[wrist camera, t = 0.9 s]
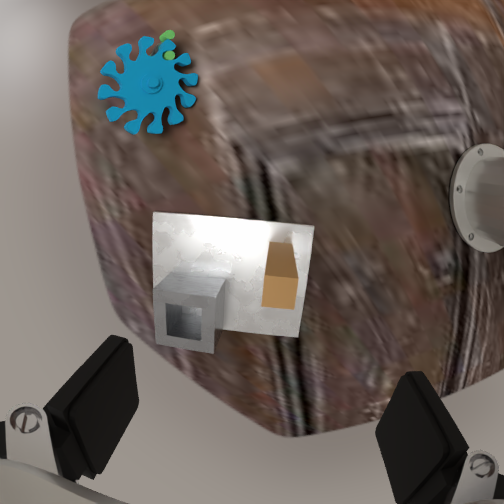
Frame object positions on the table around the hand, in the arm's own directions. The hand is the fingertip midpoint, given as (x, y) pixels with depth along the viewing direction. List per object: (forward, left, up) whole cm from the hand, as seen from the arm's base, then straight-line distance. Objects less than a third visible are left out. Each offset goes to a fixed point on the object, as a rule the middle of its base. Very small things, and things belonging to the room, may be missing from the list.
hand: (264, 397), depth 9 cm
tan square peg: (0, 0, -21) cm, 21 cm away
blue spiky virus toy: (+13, -16, -22) cm, 30 cm away
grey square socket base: (+5, +3, -21) cm, 22 cm away
